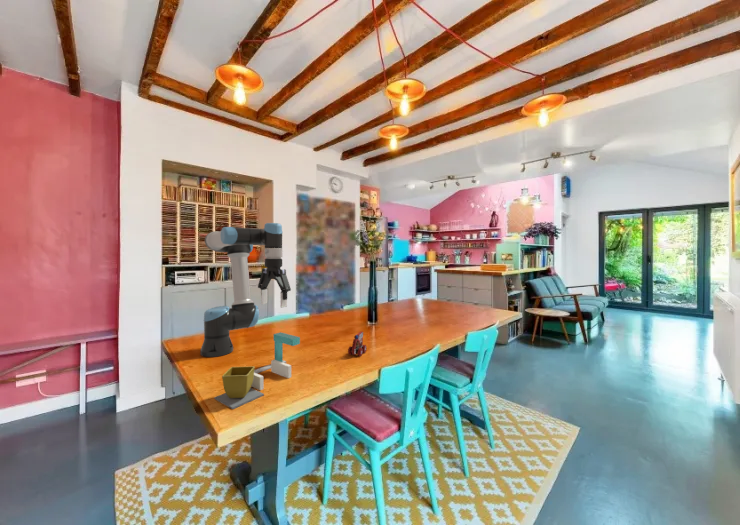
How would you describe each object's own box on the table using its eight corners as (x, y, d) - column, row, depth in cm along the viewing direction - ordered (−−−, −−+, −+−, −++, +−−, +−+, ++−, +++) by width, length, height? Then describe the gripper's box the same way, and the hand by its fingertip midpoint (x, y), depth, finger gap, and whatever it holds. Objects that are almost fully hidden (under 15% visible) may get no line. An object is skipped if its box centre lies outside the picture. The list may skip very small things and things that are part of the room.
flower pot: (231, 389, 113) (231, 366, 113) (255, 389, 114) (255, 365, 113) (221, 401, 104) (221, 376, 104) (247, 400, 105) (247, 375, 105)
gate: (273, 363, 140) (273, 334, 139) (280, 360, 143) (280, 332, 142) (292, 369, 132) (292, 339, 131) (299, 366, 135) (299, 337, 135)
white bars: (234, 378, 124) (233, 366, 124) (282, 361, 144) (282, 350, 144) (260, 390, 114) (260, 377, 114) (308, 369, 134) (308, 358, 134)
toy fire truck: (346, 356, 151) (346, 336, 151) (355, 349, 163) (355, 330, 162) (358, 358, 149) (359, 337, 148) (367, 350, 160) (367, 331, 160)
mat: (214, 398, 107) (214, 397, 107) (245, 386, 117) (245, 385, 117) (232, 409, 100) (232, 407, 100) (263, 395, 110) (263, 393, 110)
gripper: (249, 257, 137) (250, 303, 138) (284, 258, 123) (285, 310, 124) (263, 257, 144) (264, 301, 144) (298, 258, 129) (299, 307, 130)
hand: (273, 305), depth 134 cm, fingers open, 13 cm apart
